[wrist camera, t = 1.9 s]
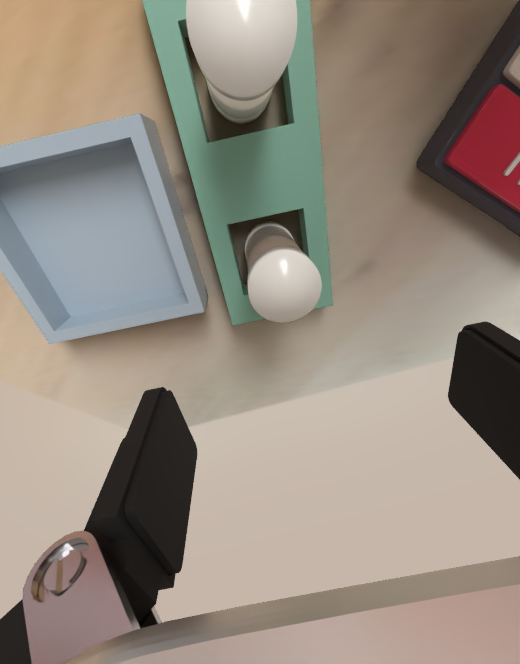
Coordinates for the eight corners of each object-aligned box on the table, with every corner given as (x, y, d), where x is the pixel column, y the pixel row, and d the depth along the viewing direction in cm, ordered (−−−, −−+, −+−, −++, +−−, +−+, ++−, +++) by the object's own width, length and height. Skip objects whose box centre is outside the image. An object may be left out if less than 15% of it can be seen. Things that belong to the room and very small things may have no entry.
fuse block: (144, -16, 17) (130, -42, 15) (294, -54, 17) (303, -87, 15) (233, 313, 28) (232, 325, 26) (325, 294, 28) (332, 305, 26)
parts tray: (-27, 163, 21) (-72, 163, 18) (154, 121, 20) (139, 113, 17) (70, 324, 28) (49, 344, 24) (208, 295, 27) (204, 311, 24)
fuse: (200, 51, 19) (169, -46, 10) (264, 36, 19) (289, -77, 10) (218, 129, 21) (204, 104, 12) (275, 116, 21) (303, 81, 12)
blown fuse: (239, 227, 24) (240, 261, 16) (289, 216, 24) (318, 245, 15) (250, 274, 26) (256, 328, 18) (295, 265, 26) (324, 314, 18)
